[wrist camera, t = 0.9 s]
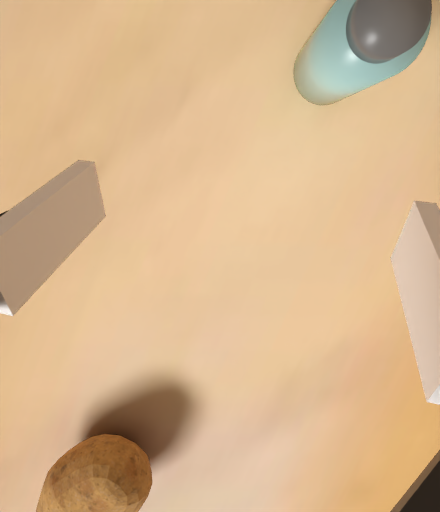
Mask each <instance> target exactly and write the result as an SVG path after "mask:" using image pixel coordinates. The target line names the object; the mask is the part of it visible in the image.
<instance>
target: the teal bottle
mask: <svg viewBox="0 0 440 512" xmlns="http://www.w3.org/2000/svg"><path fill="white" fill-rule="evenodd" d="M431 10H432V4H431V0H337V1H336V2H335V3H334V5H333V6H332V7H331V9H330V10H329V12H328V13H327V14H326V16H325V17H324V18H323V20H322V21H321V23H320V24H319V25H318V27H317V28H316V29H315V31H314V32H313V34H312V35H311V36H310V38H309V39H308V41H307V42H306V43H305V45H304V46H303V47H302V49H301V50H300V52H299V53H298V56H297V58H296V61H295V64H294V81H295V85H296V87H297V89H298V91H299V93H300V94H301V95H302V96H303V97H304V98H305V99H306V100H307V101H309V102H311V103H313V104H317V105H329V104H333V103H335V102H338V101H340V100H342V99H344V98H346V97H349V96H351V95H353V94H355V93H357V92H359V91H362V90H364V89H366V88H368V87H370V86H372V85H375V84H377V83H379V82H381V81H383V80H386V79H388V78H390V77H392V76H394V75H396V74H398V73H400V72H401V71H403V70H404V69H406V68H407V67H408V66H409V65H410V64H411V63H412V62H413V61H414V60H415V59H416V58H417V56H418V55H419V53H420V52H421V50H422V48H423V46H424V44H425V42H426V40H427V37H428V34H429V30H430V24H431Z"/></svg>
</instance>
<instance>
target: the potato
mask: <svg viewBox="0 0 440 512" xmlns="http://www.w3.org/2000/svg"><path fill="white" fill-rule="evenodd" d="M151 486H152V472H151V467H150V463H149V459H148V456H147V455H146V453H145V452H144V451H143V450H142V449H141V448H140V447H139V446H138V445H137V444H136V443H134V442H132V441H130V440H128V439H126V438H124V437H122V436H119V435H110V434H102V435H98V436H93V437H90V438H88V439H87V440H85V441H83V442H81V443H79V444H78V445H76V446H75V447H73V448H72V449H70V450H69V451H68V452H67V453H65V454H64V455H63V456H62V457H61V458H60V459H58V461H57V462H56V463H55V464H54V465H53V466H52V468H51V469H50V470H49V471H48V474H47V477H46V479H45V482H44V485H43V488H42V491H41V495H40V498H39V502H38V505H37V508H36V512H138V511H139V509H140V508H141V506H142V505H143V503H144V502H145V500H146V498H147V497H148V495H149V492H150V489H151Z"/></svg>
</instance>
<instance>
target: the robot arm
mask: <svg viewBox="0 0 440 512" xmlns="http://www.w3.org/2000/svg"><path fill="white" fill-rule="evenodd" d="M105 216H106V214H105V210H104V205H103V200H102V196H101V191H100V186H99V181H98V177H97V172H96V167H95V162H90V161H82V160H78V161H77V162H75V163H74V164H72V165H71V166H70V167H68V168H67V169H66V170H64V171H63V172H61V173H60V174H59V175H57V176H56V177H54V178H53V179H52V180H50V181H49V182H48V183H46V184H45V185H43V186H42V187H41V188H39V189H38V190H37V191H35V192H34V193H32V194H31V195H30V196H28V197H27V198H26V199H24V200H23V201H21V202H20V203H19V204H17V205H16V206H15V207H13V208H12V209H10V210H9V211H6V212H4V213H2V214H0V313H2V314H6V315H11V316H13V315H14V314H15V313H16V312H17V311H18V310H19V309H20V308H21V307H22V306H23V305H24V304H25V303H26V301H27V300H28V299H29V298H30V297H31V296H32V295H33V294H34V293H35V292H36V291H37V290H38V289H39V287H40V286H41V285H42V284H43V283H44V282H45V281H46V280H47V279H48V278H49V277H50V276H51V275H52V273H53V272H54V271H55V270H56V269H57V268H58V267H59V266H60V265H61V264H62V263H63V262H64V261H65V259H66V258H67V257H68V256H69V255H70V254H71V253H72V252H73V251H74V250H75V249H76V248H77V247H78V245H79V244H80V243H81V242H82V241H83V240H84V239H85V238H86V237H87V236H88V235H89V234H90V233H91V231H92V230H93V229H94V228H95V227H96V226H97V225H98V224H99V223H100V222H101V221H102V220H103V219H104V217H105ZM391 262H392V266H393V270H394V274H395V278H396V282H397V286H398V290H399V294H400V298H401V302H402V305H403V309H404V313H405V317H406V321H407V325H408V329H409V333H410V337H411V341H412V345H413V349H414V353H415V357H416V361H417V365H418V369H419V373H420V377H421V381H422V385H423V389H424V393H425V397H426V401H427V402H429V403H434V404H439V405H440V210H439V208H438V206H437V204H436V203H429V202H421V201H414V203H413V205H412V207H411V210H410V212H409V215H408V217H407V220H406V222H405V224H404V227H403V229H402V232H401V234H400V236H399V239H398V241H397V244H396V246H395V249H394V251H393V253H392V256H391ZM391 512H440V450H439V451H438V453H437V454H436V455H435V456H434V458H433V459H432V460H431V462H430V463H429V464H428V465H427V467H426V468H425V469H424V470H423V472H422V473H421V474H420V475H419V477H418V478H417V479H416V480H415V482H414V483H413V484H412V485H411V487H410V488H409V489H408V490H407V492H406V493H405V494H404V495H403V497H402V498H401V499H400V500H399V502H398V503H397V504H396V505H395V507H394V508H393V509H392V510H391Z"/></svg>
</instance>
